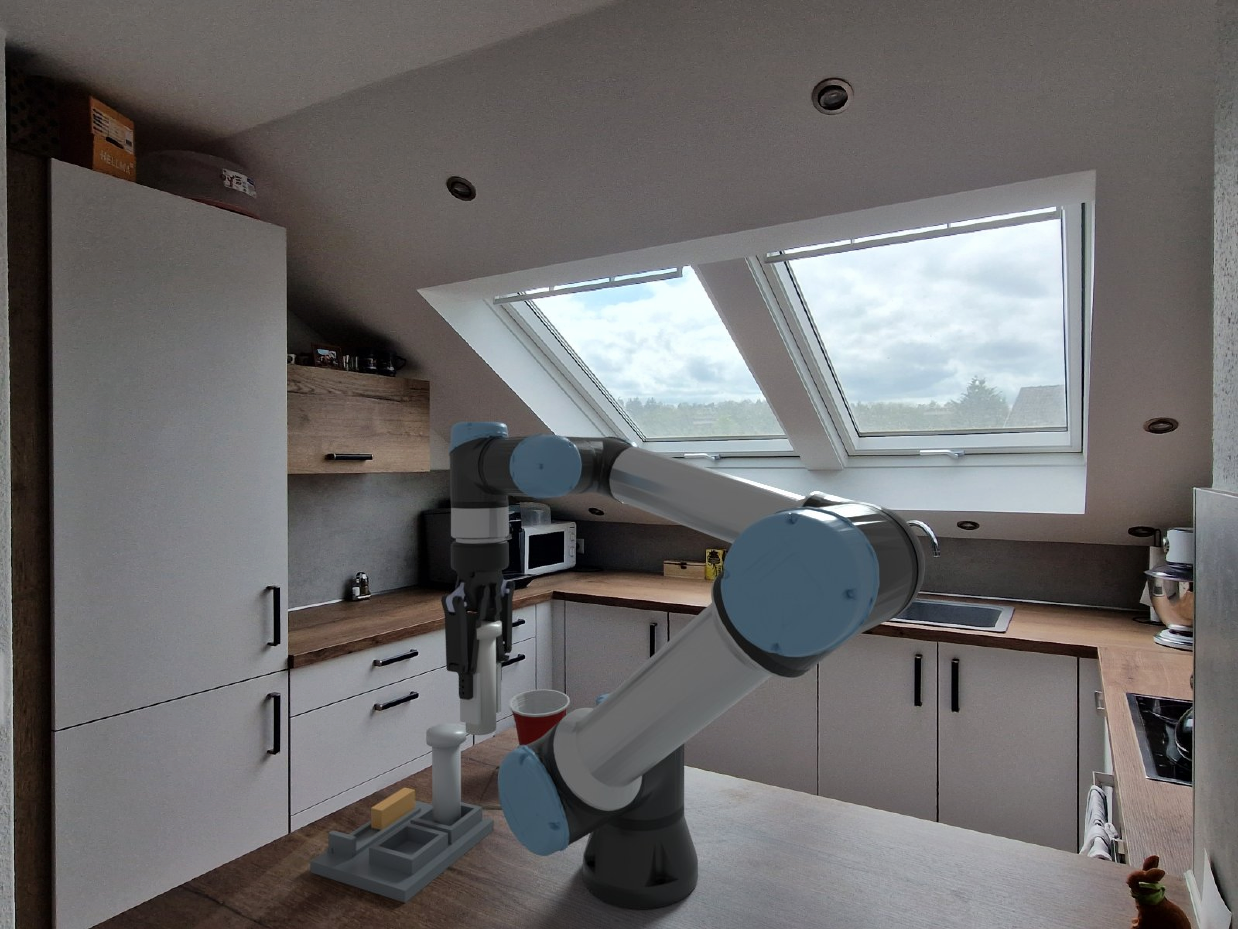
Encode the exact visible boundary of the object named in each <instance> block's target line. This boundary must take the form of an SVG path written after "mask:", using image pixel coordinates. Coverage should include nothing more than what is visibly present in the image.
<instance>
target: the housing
mask: <svg viewBox="0 0 1238 929" xmlns="http://www.w3.org/2000/svg"><path fill="white" fill-rule="evenodd" d="M425 734H426V737H425V739H426V740H425V741H426V745H427V746H429V747H431V760H432V761H431V766H432V767H431V772H432V774H431V775H432V776H431V779H432V780H431V781H432V785H431V786H432V788H431V789H432V792H431V796H432V800H431V801H432V803H427V802H423V801H418V800H416V799H415V808H414V809H413V810H411V811H410V812H408V813H407V814H405V815H403V816H402V817H400V818H399V819H397V820H396V821H394V822H393V823H391V824H390V825H388V826H387V827H385V828H384V829H382V830H379V829H375V828H372V827H371V819H370V820H369V821H367V822H366V823H364V824H362V825H361V826H360V827H358V828H356V829H354V830H353V831H351V832H350V833H348V834H347V833H344V832H340V831H336V830H334V829H333V830H331V831H329V832H327V834H328V835H327V837H328V846H327V847H326V849H327V850H325V851H324V852H323V853H321V854H319V855H317V856H316V857H314V858H312V859H311V860H310V862H309V864H310V865H309V868H310V869H309V870H310V873H311V874H315V875H318V876H321V877H324V878H326V879H330V880H332V881H336V882H340V883H343V884H346V885H349V886H352V887H355V888H358V889H361V890H364V891H368V892H371V893H373V894H376V895H380V896H382V897H385V898H388V899H389V898H390V899H392V900H394V901H398V902H402V903H407V902H408V901H410V899H413V898H414V896H416V895H417V894H418V893H419V892H420V891H422V890H423V889H424V888H425V887H427V886H428V885H429V884H430V883H431V882H433V881H434V880H435V879H436V878H437V877H439V876H440V875H441V874H442V873H444V872H445V871H446V870H447V869H449V868H450V867H451V866H452V865H453V864H454V863H456V862H457V861H458V860H459V859H460V858H462V857H463V856H464V855H466V853H468V852H469V851H470V850H471V849H473V848H474V847H475V846H477V845H478V844H479V843H480V842H482V840H483V839H485V838H486V837H487V836H489V835H490V834H491V833H492V832H493V831H494V830H495V821H494V819H492V818H488V817H484V816H483V809H482V807H480V806H481V805H478V806H477V804H476V805H475V804H471V803H466V802H463V801H462V770H461V768H462V765H461V764H462V763H461V761H462V760H461V759H462V758H461V757H462V756H461V755H462V754H461V752H462V750H461V749H462V748H461V747H462V746H461V745H462V744H464V743H465V742H466V740H467V733H466V725H463V724H460V723H456V722H454V723H453V722H447V723H440V724H436V725H433V726H431V727H429V728H428V729H427V730H426V732H425Z"/></svg>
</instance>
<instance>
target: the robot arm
mask: <svg viewBox="0 0 1238 929" xmlns="http://www.w3.org/2000/svg"><path fill="white" fill-rule="evenodd" d="M508 430H509V429H508V427H507V425H506V423H503V422H500V421H499V422H498V421H462V422H461V421H460V422H457V423H455V424H454V425H453V426H452V427H451V429H450V446H449V447H450V448H449V451H448V456H449V486H450V487H449V489H450V492H449V493H450V494H449V495H450V536H451V538H453V539H455V540H454V541H452V543H451V544H450V567H451V569H452V570H453V571H455V572H456V574H457V580H456V583H455V586H454V588H455V590H454V591H453V592H452V593H451V594H449V595H448V594H443V595H442V596H441V598H440V602H441V606H442V609H443V613H444V632H445V633H444V634H445V663H446V665H445V667H446V671H447V672H453V673H457V676H458V698H459V722H460V723H471V724H476V725H478V724H480V723H481V672H476V668H477V659H478V649H479V640H477V628H480V627H481V622H482V621H491V622H496V621H501V622H502V634H501V635H500V636H498V637H496V714H497V713H500V712H502V680H503V679H502V678H503V676H502V675H503V673H502V671H503V670H502V669H503V668H502V666H503V664H502V662H503V663H504V662H505V663H507V662H509V660H510V655H508V654H511V652H512V649H513V604H514V602H513V600H514V594H515V589H516V582H515V581H514V580H506V579H504V575H503V572H502V571H503V570H505V569H507V568H508V567H509V565H510V555H509V553H510V552H509V551H510V550H509V549H510V547H509V546H510V545H509V542H508V540H506V539H505V538H506V537H508V536H509V535H510V520H509V519H510V518H509V516H510V515H509V514H510V513H509V511H510V509H509V505H510V504H509V496H513V497H515V496H516V497H527V498H528V497H529V498H530V497H532V498H534V499H544V498H545V499H552V498H561V497H564V496H566V495H581V494H582V495H585V494H596V495H601V496H604V497H606V498H609V499H611V500H614V501H616V502H620V503H623V504H626V505H629V506H631V507H634V508H636V509H639V510H642V511H644V512H648V513H650V514H652V515H655V516H658V517H660V518H662V519H666V520H669V521H672V522H674V523H676V524H679V525H681V526H684V527H687V528H690V529H693V530H694V531H695V530H696V531H698V532H700V533H703V534H706V535H708V536H711V537H714V538H716V539H718V540H719V539H720V540H721V541H725V542H727V543H730V544H731V546H730V547H729V549H728V552H727V553H726V556H725V558H724V562H723V564H722V567H723V570H722V571H721V572H719V574H717V576H715V578H714V579H713V582H712V584H711V588H710V597H711V598H710V599H711V603H710V604H709V605H707V606H706V607H705V608H704V609H703V610H701V611H700V613H698V614H697V615H696V616H695V617H694V618H693V619H692V620H691V621H689V623H687V624H686V625H685V626H684V627H683V628H681V630H679V632H677V633H676V634H675V635H673V637H672V638H671V639H670V640H668V641H667V642H666V643H665V644H664V645H663V646H661V648H660V649H659V650H658V651H656V652H655V653H654V654H653V655H652V656H651V657H650V658H648V659H647V660H646V661H645V662H644V663H643V664H642V665H641V666H639V667H638V668H637V669H636V670H635V671H634V672H633V673H632V674H631V675H630V676H628V677H627V678H626V679H625V680H624V681H623V682H622V683H620V685H618V686H617V687H616V688H615V689H614V690H613V691H612V692H610V693H605V694H602V695H600V696H599V697H597V698H596V700H595V706H594V708H593V707H580V708H576V709H573V710H572V711H570V712H568V713H567V714H565V717H564V718H563V719H562V720H560V721H559V722H558V723H557V724H556V725H555V726H554V727H553V728H552V729H550V730H549V731H548V732H547V733H546V734H545V735H544V736H542V737H541V738H539V739H538V740H536V741H534V742H532V743H530V744H527V745H520V746H519V745H518V746H517V747H516V748H515V749H513V750H511V751H509V752H508V753H507V754H506V755H505V756H504V757H503V758H502V760H501V763H500V765H499V766H500V768H498V773H497V774H498V775H497V788H498V798H499V803H500V806H501V808H502V809H501V810H502V813H503V815H504V816H503V817H504V818H505V820H506V823H507V825H508V827H509V829H510V831H511V833H512V834H513V836H514V837H515V838H516V840H517V841H518V842H519V843H520V844H521V845H522V846H523V847H525V848H526V850H527V851H528V852H530V853H531V854H534V855H536V856H541V857H545V856H546V857H547V856H551V855H553V854H555V853H557V852H563V851H565V850H566V849H567V848H568V847H569V846H570V845H572V844H574V843H575V842H577V841H579V840H581V839H582V838H583V839H584V837H586V836H588V835H589V836H588V838H587V840H586V841H587V842H586V845H585V848H584V851H583V855H582V879H583V883H584V885H585V887H586V888H587V890H589V891H590V892H591V893H592V894H593V895H594V896H595V897H596V898H598V899H600V900H602V901H604V902H606V903H609V904H612V905H614V906H619V907H623V908H628V909H641V910H642V909H645V910H646V909H647V910H648V909H656V908H661V907H665V906H666V907H667V906H669V905H672V904H675V903H677V902H679V901H681V900H682V899H685V897H687V896H689V895H690V893H691V892H692V891H693V890H694V889H695V888H696V886H697V883H698V879H699V860H698V858H699V857H698V854H697V851H696V847H695V844H694V842H693V838H692V835H691V832H690V829H689V826H688V823H687V819H686V816H685V743H686V742H687V741H689V740H690V739H691V738H693V737H694V736H695V735H696V734H698V733H700V731H702V730H703V729H705V727H707V726H708V725H709V724H711V723H712V722H713V721H715V720H716V719H717V718H718V717H720V716H721V715H723V714H724V713H725V712H726V711H728V710H729V709H730V708H732V707H733V706H735V705H736V704H737V703H738V702H739V701H741V700H742V699H744V698H745V697H747V696H748V694H750V693H752V692H753V691H754V690H756V688H758V687H759V686H760V685H762V684H763V683H764V682H766V681H767V680H768V679H769V678H771V677H773V678H777V679H781V680H789V681H790V680H795V679H798V678H800V677H801V676H803V675H805V674H806V673H807V672H809V671H810V670H811V669H813V668H815V666H816V665H818V664H819V663H821V662H822V661H824V660H825V659H826V658H828V657H829V656H830V655H832V654H833V653H834V652H836V651H838V649H840V648H841V647H842V646H844V645H845V644H847V643H848V642H849V641H851V640H852V639H854V638H855V637H858V636H859V635H861V634H862V633H864V632H866V631H868V630H870V629H872V628H875V627H877V626H879V625H881V624H883V623H886V622H889V621H890V620H892V619H895V618H896V617H898V616H899V615H901V614H902V613H903V612H904V611H906V610H907V609H908V608H909V607H911V605H912V604H913V603H914V601H915V599H916V598H918V594H919V592H920V591H921V588H922V587H923V583H924V579H925V574H926V558H925V552H924V550H923V546H922V544H921V542H920V539H919V537H918V536H917V534H916V532H915V530H914V529H913V528H912V527H911V525H909V523H908V522H907V521H906V520H905V519H904V518H903V517H901V516H900V515H899V514H898V513H896V512H894V511H893V510H891V509H889V508H886V507H884V506H881V505H879V504H875V503H869V502H865V501H858V500H853V499H849V498H845V497H841V496H835V495H832V494H829V493H827V492H826V493H825V492H822V491H813V492H810V493H809V494H807V496H806V495H805V496H801V495H799V494H795V493H793V492H790V491H785V490H782V489H780V488H775V487H772V486H768V485H765V484H762V483H759V482H755V481H752V480H750V479H746V478H742V477H739V476H735V475H733V474H732V475H731V474H728V473H725V472H723V471H719V470H715V469H712V468H709V467H705V466H702V465H698V464H696V463H692V462H688V461H685V460H681V459H678V458H675V457H671V456H669V455H665V454H661V453H659V452H655V451H652V450H648V449H645V448H642V447H639V445H638V444H637V443H636V442H634V441H632V440H631V439H627V438H621V437H618V436H617V437H616V436H603V437H597V436H596V437H595V436H594V437H593V436H590V437H589V436H587V437H586V436H585V437H584V436H583V437H582V436H566V435H565V436H562V435H558V434H550V433H548V434H547V433H546V434H543V433H536V434H533V435H532V434H530V435H517V436H515V435H514V436H509V431H508Z"/></svg>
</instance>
